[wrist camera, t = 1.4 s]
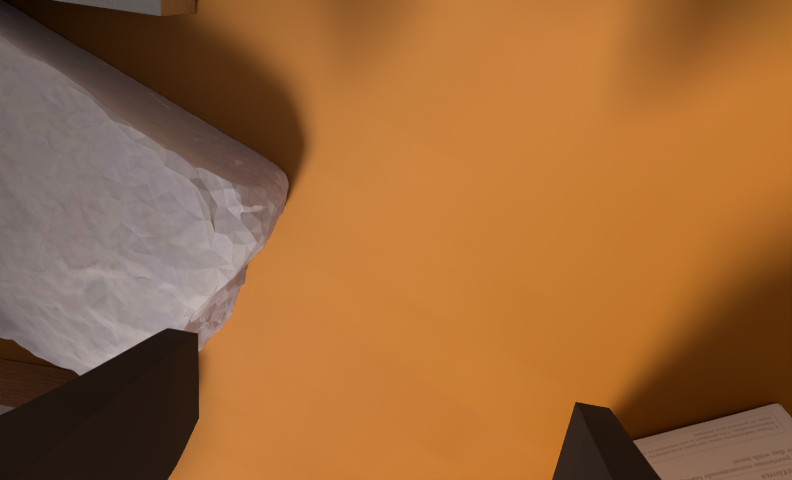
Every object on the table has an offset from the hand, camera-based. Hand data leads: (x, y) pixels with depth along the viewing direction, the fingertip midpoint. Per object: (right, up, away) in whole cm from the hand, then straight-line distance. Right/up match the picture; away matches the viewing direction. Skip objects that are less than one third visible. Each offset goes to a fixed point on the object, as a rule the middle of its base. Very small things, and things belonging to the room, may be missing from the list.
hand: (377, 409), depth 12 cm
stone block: (-10, +5, +9) cm, 14 cm away
